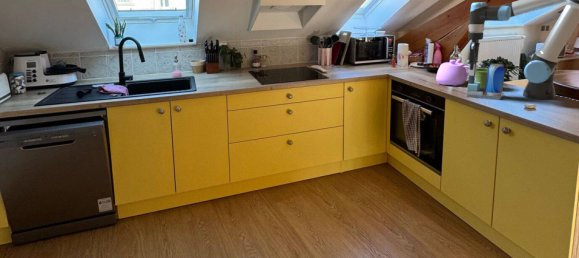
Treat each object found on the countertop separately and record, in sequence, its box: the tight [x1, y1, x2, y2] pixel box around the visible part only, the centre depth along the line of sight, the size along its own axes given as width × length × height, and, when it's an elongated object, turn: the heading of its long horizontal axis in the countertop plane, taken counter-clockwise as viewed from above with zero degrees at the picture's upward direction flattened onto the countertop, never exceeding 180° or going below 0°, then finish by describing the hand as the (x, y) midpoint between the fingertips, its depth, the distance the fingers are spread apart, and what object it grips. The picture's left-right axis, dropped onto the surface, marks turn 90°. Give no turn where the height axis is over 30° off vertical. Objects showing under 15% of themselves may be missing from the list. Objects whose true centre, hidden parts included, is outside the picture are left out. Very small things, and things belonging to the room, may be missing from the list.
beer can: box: [486, 63, 506, 95], centre depth 233 cm, size 8×8×16 cm
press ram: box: [466, 58, 480, 92], centre depth 238 cm, size 6×8×19 cm
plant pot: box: [475, 67, 489, 88], centre depth 255 cm, size 12×12×11 cm
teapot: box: [435, 58, 470, 87], centre depth 270 cm, size 23×21×15 cm
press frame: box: [466, 88, 505, 101], centre depth 237 cm, size 17×11×4 cm, turn 56°
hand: (472, 74), depth 238 cm, fingers closed on press ram, 3 cm apart
